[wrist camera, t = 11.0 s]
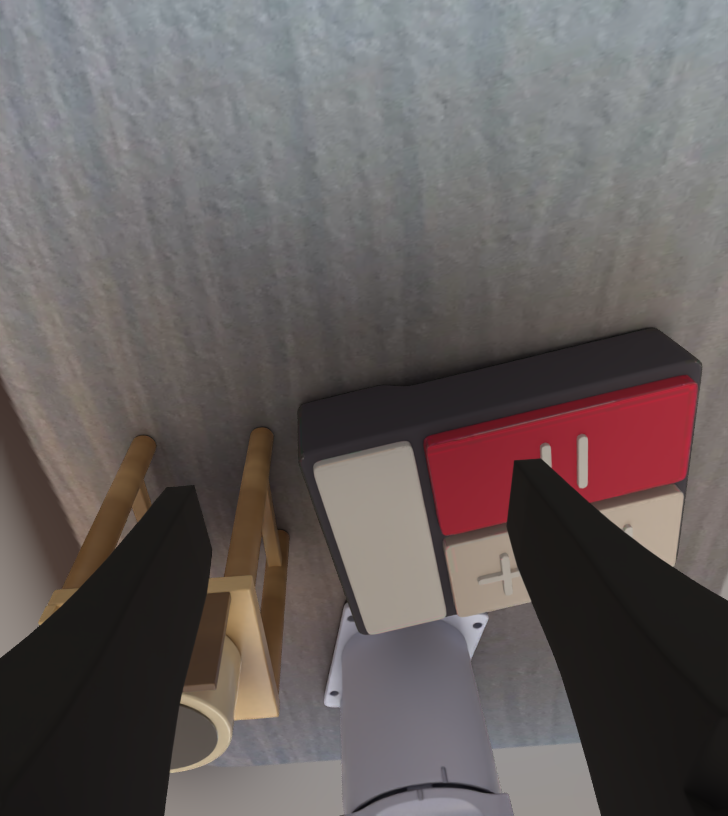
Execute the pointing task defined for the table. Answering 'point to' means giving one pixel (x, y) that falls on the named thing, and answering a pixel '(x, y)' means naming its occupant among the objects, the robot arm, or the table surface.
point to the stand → (245, 540)
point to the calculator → (493, 470)
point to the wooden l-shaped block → (239, 620)
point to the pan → (208, 716)
